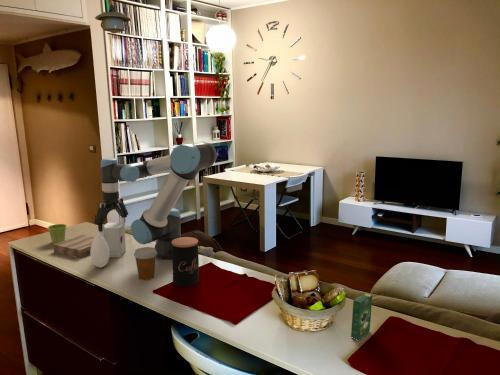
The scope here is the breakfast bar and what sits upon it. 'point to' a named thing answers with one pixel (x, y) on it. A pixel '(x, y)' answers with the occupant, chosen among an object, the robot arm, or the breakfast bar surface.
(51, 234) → the plant pot
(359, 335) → the coffee box
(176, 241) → the coffee jar
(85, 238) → the walnut riser
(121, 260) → the breakfast bar surface
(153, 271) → the disposable coffee cup
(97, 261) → the white teardrop-shaped piece
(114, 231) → the supplement box
